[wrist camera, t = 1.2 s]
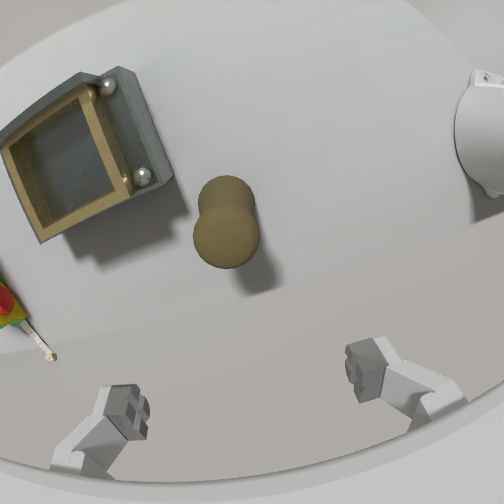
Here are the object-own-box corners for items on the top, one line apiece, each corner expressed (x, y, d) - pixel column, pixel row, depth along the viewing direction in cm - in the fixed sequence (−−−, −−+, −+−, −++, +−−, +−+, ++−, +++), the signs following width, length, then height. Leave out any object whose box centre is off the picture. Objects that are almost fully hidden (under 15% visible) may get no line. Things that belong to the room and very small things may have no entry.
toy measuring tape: (-6, 254, 32) (-31, 276, 26) (66, 353, 40) (52, 382, 34) (-23, 270, 33) (-45, 291, 27) (44, 360, 41) (31, 387, 35)
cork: (231, 239, 34) (233, 294, 24) (186, 208, 32) (169, 252, 22) (266, 198, 32) (284, 238, 23) (221, 163, 30) (218, 188, 21)
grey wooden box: (134, 72, 25) (101, 59, 17) (173, 173, 30) (155, 196, 22) (23, 141, 26) (-25, 155, 18) (60, 227, 32) (22, 261, 23)
